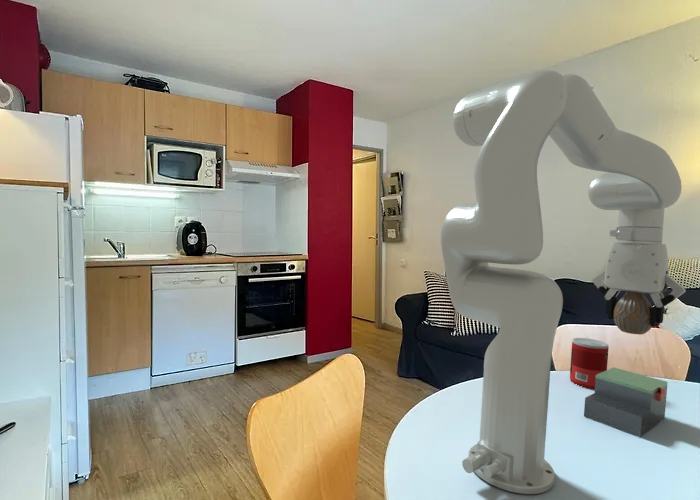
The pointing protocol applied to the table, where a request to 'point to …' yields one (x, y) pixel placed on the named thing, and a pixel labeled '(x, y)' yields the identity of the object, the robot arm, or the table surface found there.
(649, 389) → the stand
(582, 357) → the canned food
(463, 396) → the table surface
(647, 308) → the vase
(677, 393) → the table surface
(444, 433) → the table surface
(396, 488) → the table surface
